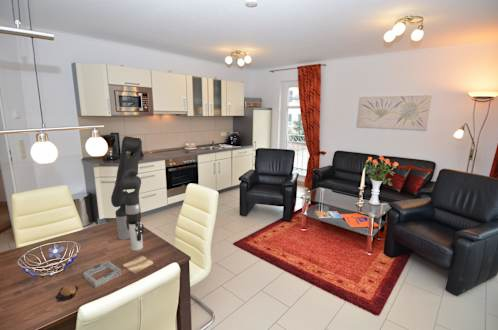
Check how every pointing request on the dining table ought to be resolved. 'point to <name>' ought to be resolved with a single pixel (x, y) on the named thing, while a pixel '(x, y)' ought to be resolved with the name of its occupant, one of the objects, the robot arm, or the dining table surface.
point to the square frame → (106, 277)
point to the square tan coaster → (137, 264)
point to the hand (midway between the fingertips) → (135, 238)
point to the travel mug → (135, 237)
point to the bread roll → (67, 293)
